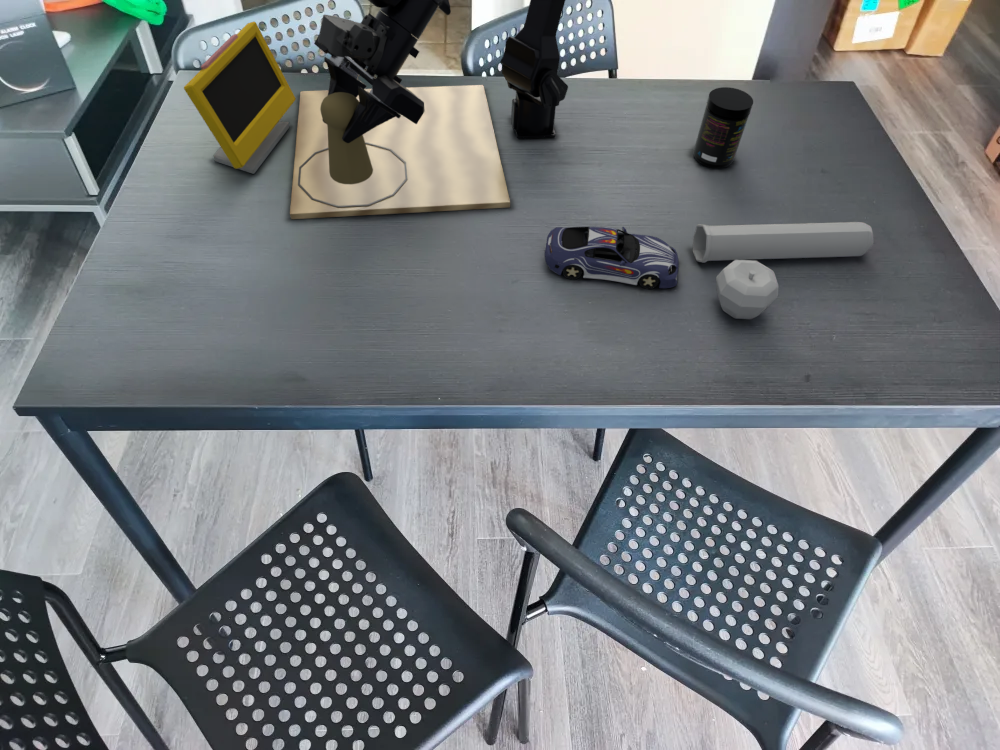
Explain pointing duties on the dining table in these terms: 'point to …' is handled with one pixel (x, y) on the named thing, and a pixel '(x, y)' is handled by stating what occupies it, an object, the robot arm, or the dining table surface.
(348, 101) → the pepper shaker
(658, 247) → the toy car
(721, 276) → the apple
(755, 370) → the dining table surface
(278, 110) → the toy computer monitor
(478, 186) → the sketch board
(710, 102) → the supplement container
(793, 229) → the tube
